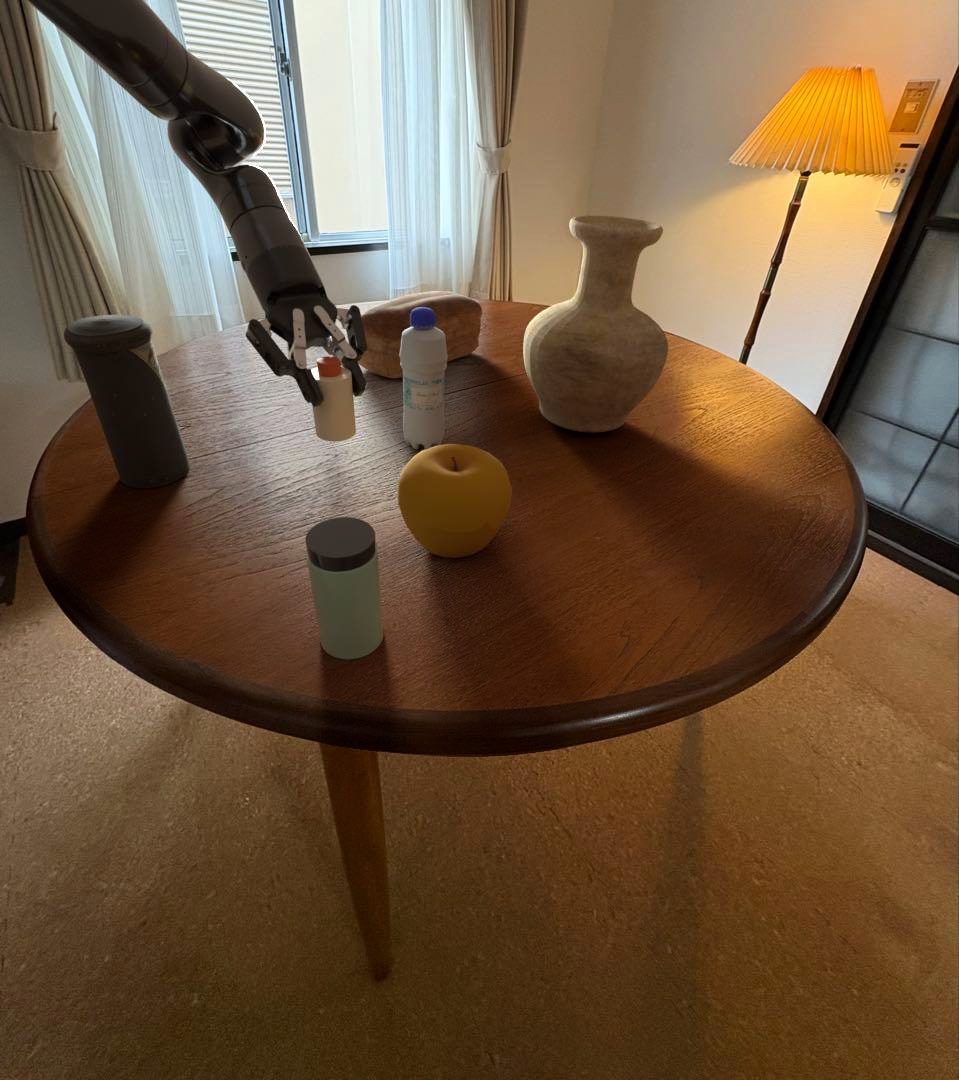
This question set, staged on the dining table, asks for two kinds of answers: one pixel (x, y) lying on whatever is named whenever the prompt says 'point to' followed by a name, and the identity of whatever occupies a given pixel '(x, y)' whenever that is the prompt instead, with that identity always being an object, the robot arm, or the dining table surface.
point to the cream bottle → (334, 401)
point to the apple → (454, 498)
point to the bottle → (423, 379)
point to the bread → (393, 317)
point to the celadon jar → (345, 586)
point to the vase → (597, 333)
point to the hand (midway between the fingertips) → (340, 397)
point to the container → (130, 398)
